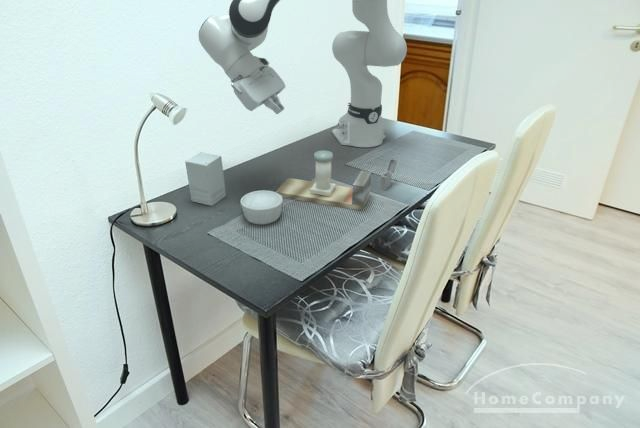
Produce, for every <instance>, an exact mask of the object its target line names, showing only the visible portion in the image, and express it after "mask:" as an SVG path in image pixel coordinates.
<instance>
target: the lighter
mask: <svg viewBox="0 0 640 428" xmlns="http://www.w3.org/2000/svg"><path fill="white" fill-rule="evenodd" d="M397 163H398V160H397V159H394V158H390V159H389V162H388V166H387V170H385V171H383V174H382V175H380V182H379V183H380V184H379V189H380V190H381V191H387V189H389V188H390V187H391V186H392V185H391V183H392V174H394V173H395V169H396V166H397Z"/></svg>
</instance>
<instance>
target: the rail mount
mask: <svg viewBox="0 0 640 428" xmlns="http://www.w3.org/2000/svg"><path fill="white" fill-rule="evenodd" d="M315 182H316V181H310V180H304V179H297V178H292V177H287V178H286V180H285V181H283V183H282V184H281V185H280V186H279V188H277V189H276V191H275V192H276V193H278V194H280V195H281V196H282V198H283V199H288V198H290V199H289V200H294V199H296V201H300V200H301V201H302V202H308V203H314V204H320V205H324V206H325V205H326V206H331V207H338V208H344V209H351V210H354V211H355V210H356V211H363V209H365V205H366V203H367V202H368V200H369V198H370V196H371V186H372V184H371V183H372V171H369V170H360V172H359V174H358V175H357V177H356V178H355V181H354V182H353V183H352V187H351V186H344V185H339V184H336V188H335V189H334V191H333V192H332V194H331V195H330V196H325V195H319V194H312V193H310V189H311V188H312V186H313V185H314V184H315ZM301 201H300V202H301Z"/></svg>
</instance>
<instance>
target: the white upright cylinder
mask: <svg viewBox="0 0 640 428" xmlns="http://www.w3.org/2000/svg"><path fill="white" fill-rule="evenodd" d="M313 155H314V156H313V158H314V159H313V160H314V161H315V181H314V182H315V184H314V185H313V186H312V188H311V189H310V193H312V194H319V195H325V196H330V195H331V194H332V192H333V191H334V189H335V188H336V185H337V184H336V183H333V182H332V160H333V159H334V158H333V157H334V154H333V152H332V151H329V150H318V151H315V152H314V153H313Z"/></svg>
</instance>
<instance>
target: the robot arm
mask: <svg viewBox="0 0 640 428" xmlns="http://www.w3.org/2000/svg"><path fill="white" fill-rule="evenodd" d="M280 1H281V0H232V1H231V3H230V6H229V9H228V14H224V15H210V16H209V17H207V18H206V19H205V20H204V22H203V23H202V25H201V26H200V29H199V31H198V42H199V43H200V45H201V47H203V50H205V52H206V53H207V54H208V56H209V57H210V58H211V60H213V61H214V63H215V64H217V65H219V66H220V68H222V70H223V71H224V73H225V75H227V77H228V78H229V79H230V85H231V87H232V89H233V93H234V94H235V96H236V97H237V98H238V100H239V101H240V103H241V104H242V105H243V107H244V108H245V109H246V110H248V111H250V112H253V111H254V110H256V109H258V107H261V106H262V105H264V106H265V107H266V108H268V109H269V110H271V111H273V113H274V114H276V115H279V114H280V113H281V112H283V111H284V110H285V106H284V105H283V104H282V103H281V100H280V97H279V96H278V95H279V94H280V93H282V92H283V90H284V89H285V88H286V84H285V81H284V80H283V79H282V78H281V76H280V75H279V74H278V72H276V70H275V69H274V68H273V67H272V66H270V62H269V61H268V60H267V58H265V57H259V56H256V55H253V53H252V52H251V51H252V50H254V49H257V48H258V47H259V46H260V45H262V44H263V43H264V42H265V40H266V38H267V34H268V30H269V25H270V22H271V18H272V13H273V10H274V8H275V7H276V5H278V3H279V2H280ZM351 4H352V5H351V6H352V14H353V16H354V18H355V19H356V20H357V21H359V23H362V24H363V25H364V26H365V27H366V28H367V29H368V31H366V30H365V31H363V30H347V31H340V32H338V33H337V34H336V35H335V37H334V39H333V41H332V44H331V50H332V54H333V56H334V57H333V58H335V60H336V61H337V62H338V63H339V64H340V65H341V66H342V67H343V68H344V69H345V71H346V74H347V75H348V78H349V79H348V80H349V83H350V84H349V85H350V102H348V103H347V107H348V108H347V112H346V113H345V114H344V115H342V116H341V117H340V118H339V119H338V122H337V127H336V128H333V129H332V130H331V133H332V134H333V136H334V137H335V139H337V141H338V142H339V143H340V144H341V145H342V146H352V147H356V148H374V147H377V146H380V145H382V143H383V141H384V140H385V139H386V135H385V134H384V118H383V117H382V111H383V105H382V95H383V84H382V81H381V80H380V79H379V77H377V76H375V75H373V74H372V73H371V72H370V70H369V68H368V66H370V67H382V68H388V67H394V66H400V65H401V63H403V61H404V60H405V58H406V56H407V51H408V47H407V42H406V40H405V37H404V36H402V35H401V34H400V33H399V32H398V31H397V30H396V29H395V27H394V26H393V24H392V23H391V22H392V21H391V19H390V17H389V14H388V13H389V12H388V0H352V3H351Z"/></svg>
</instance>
